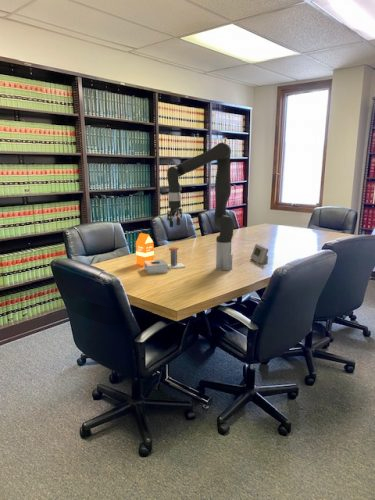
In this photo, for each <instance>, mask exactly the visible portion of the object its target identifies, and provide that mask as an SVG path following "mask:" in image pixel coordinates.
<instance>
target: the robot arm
mask: <svg viewBox="0 0 375 500" xmlns="http://www.w3.org/2000/svg"><path fill="white" fill-rule="evenodd" d="M231 155H232V149H231V146H230V145H229V144H228V143H226V142H219V143H217V144H216V145H215V146H213V147H212V148H210V149H209V150H207V151H205V152H202V153H200V154H198V155H196V156H193V157H191V158H189V159H186V160H184V161H182V162H181V163H179V164H176V165H174V166H170V167H168V169H167V171H166V178H167V183H168V196H167V198H168V201H167V204H168V208H169V209H170V210H167V211H166V212H167V213H166V217H167V219H166V220H167V221H168V222H169V228H174V219H176V226H180V225H181V218H183V209H182V202H181V201H182V200H181V184H180V182H179V181H180V180H179V178H180V177H182V176H183V175H185V174H189V173H190V172H192V171H195V170H197V169H199V168H201V167H202V166H204V165H207V164H209V163H211V162H214V161H216V174H215V181H214V187H215V189H214V190H215V191H214V192H215V193H214V195H215V196H214V197H215V198H214V199H215V200H214V201H215V203H214V204H215V207H214V219H213V220H214V221H213V223H214V226H215V228H216V229H217V230H219V235H217V236H216V239H215V240H216V243H215V244H216V246H215V247H216V248H215V249H216V250H215V251H216V252H215V253H216V254H215V255H216V256H215V268H216V270H218V271H229V270H232V269H233V253H232V241H233V237H234V219H233V218H232V217H231V216H230V215H227V204H228V201H229V199H230V197H231V194H232V193H231V192H232V191H231V190H232V187H231V186H232V184H231V183H232V182H231V180H232V179H231V170H230V163H231V162H230V161H231Z"/></svg>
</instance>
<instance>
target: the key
mask: <svg viewBox="0 0 375 500" xmlns="http://www.w3.org/2000/svg"><path fill="white" fill-rule="evenodd" d="M168 249H169V250H168V251H170V264H171V266H176V265H177V263H178V251H179V247H175V246H174V247H173V246H172V247H170V248H168Z"/></svg>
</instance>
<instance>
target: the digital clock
mask: <svg viewBox="0 0 375 500" xmlns="http://www.w3.org/2000/svg"><path fill="white" fill-rule="evenodd" d="M268 253H269V249H268V248H267V247H266V246H264V245H261V244H259V243H255V245H254V247H253V251H252V253H251V256H250V259H251V260H252V261H254V262H256V263H257V262H258V264H259V265H264V264H268V262H269V256H268Z"/></svg>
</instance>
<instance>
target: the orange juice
mask: <svg viewBox="0 0 375 500" xmlns="http://www.w3.org/2000/svg"><path fill="white" fill-rule="evenodd" d="M154 250H155V246H154V241H153V239H152V238H151V236H150V234H148V233H143V232H140V233H139V235H138V237H137V239H136V241H135V254H136V255H135V256H136V257H135V258H136V265H139V264H140V266H143V265H144V261H152V260H155V256H154V255H155V251H154Z"/></svg>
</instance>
